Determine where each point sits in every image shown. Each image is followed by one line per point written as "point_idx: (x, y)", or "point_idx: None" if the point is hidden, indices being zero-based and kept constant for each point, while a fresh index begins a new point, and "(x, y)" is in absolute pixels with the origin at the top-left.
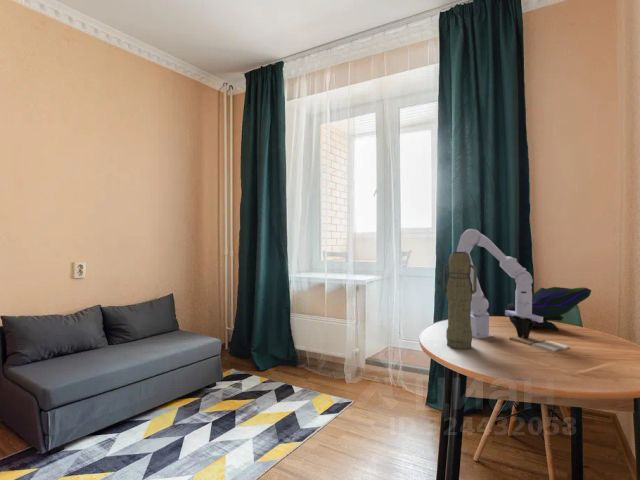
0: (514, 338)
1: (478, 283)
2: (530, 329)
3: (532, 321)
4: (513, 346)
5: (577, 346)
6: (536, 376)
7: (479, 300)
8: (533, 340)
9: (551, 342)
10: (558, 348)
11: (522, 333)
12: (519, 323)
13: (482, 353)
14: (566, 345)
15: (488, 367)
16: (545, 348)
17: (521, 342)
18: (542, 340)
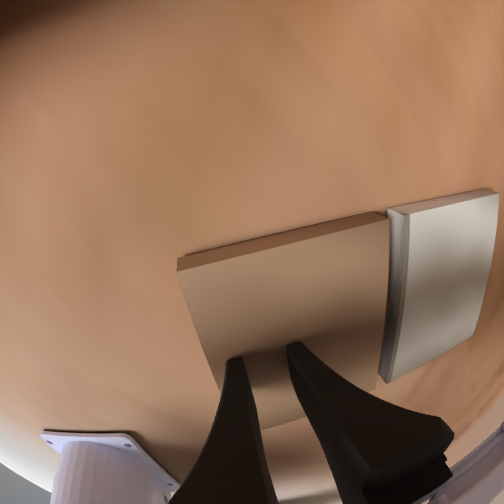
0: (267, 422)
1: None
2: (351, 391)
3: (434, 463)
4: None
5: (463, 71)
6: (457, 430)
7: None
8: (354, 332)
9: (436, 232)
10: (483, 294)
11: (248, 380)
12: (272, 491)
13: (327, 491)
14: (490, 196)
15: None
16: (447, 347)
17: None
18: (384, 258)
